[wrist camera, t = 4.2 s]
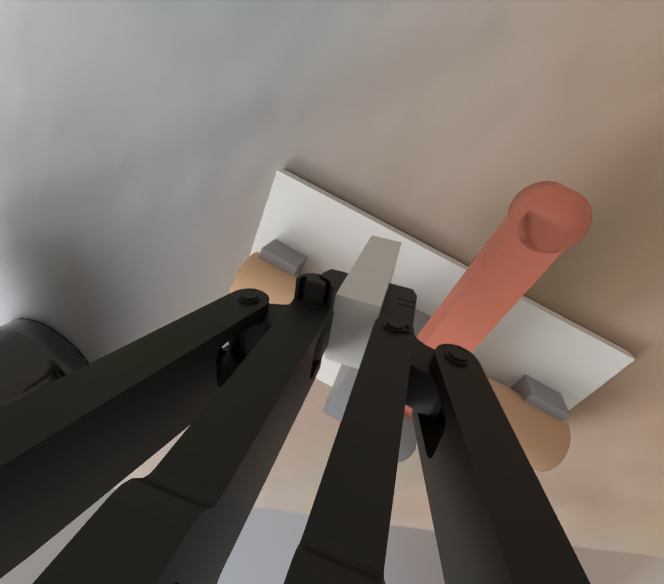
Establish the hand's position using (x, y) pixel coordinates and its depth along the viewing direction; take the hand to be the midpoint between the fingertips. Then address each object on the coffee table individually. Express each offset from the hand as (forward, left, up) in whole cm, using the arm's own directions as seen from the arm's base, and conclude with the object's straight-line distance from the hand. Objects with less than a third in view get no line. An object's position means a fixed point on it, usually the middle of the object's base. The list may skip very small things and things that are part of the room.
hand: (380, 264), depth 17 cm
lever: (+5, -2, 0) cm, 5 cm away
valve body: (+5, -9, -9) cm, 13 cm away
